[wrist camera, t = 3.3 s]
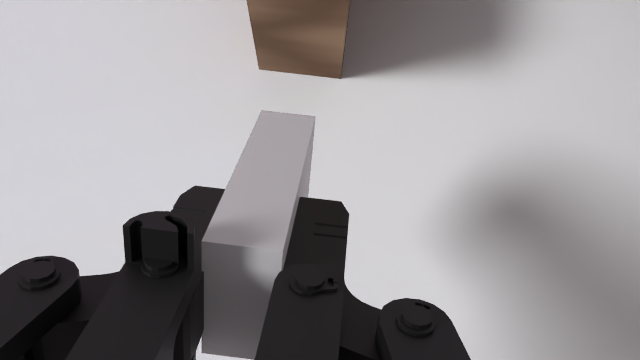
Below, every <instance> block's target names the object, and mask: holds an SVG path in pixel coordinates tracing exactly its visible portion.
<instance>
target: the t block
mask: <svg viewBox="0 0 640 360" xmlns="http://www.w3.org/2000/svg"><path fill="white" fill-rule="evenodd" d="M247 5H248V11H249V16H250V22H251V27H252V33H253V38H254V44H255V49H256V55H257V60H258V66H259V69H262V70H271V71H279V72H288V73H296V74H305V75H313V76H322V77H330V78H339V79H341V72H342V64H343V56H344V48H345V40H346V32H347V24H348V16H349V7H350V0H247Z"/></svg>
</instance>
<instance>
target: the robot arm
mask: <svg viewBox="0 0 640 360" xmlns="http://www.w3.org/2000/svg"><path fill="white" fill-rule="evenodd" d="M314 126H315V116H307V115H298V114H289V113H280V112H272V111H263V110H262V111H261V113H260V115H259V117H258V119H257V122H256V124H255V126H254V128H253V130H252V132H251V135H250V137H249V139H248V141H247V143H246V146H245V148H244V150H243V152H242V154H241V156H240V159H239V161H238V163H237V165H236V167H235V169H234V172H233V174H232V176H231V178H230V180H229V182H228V185H227V187H226V189H218V188H210V187H201V186H194V187H192V188H191V189H189V190H188V191H186V192H185V193H183V194H181V195H180V197H179V198H178V200H177V202H176V203H175V205H174V207H173V210H171V212H169V211H154V212H148V213H143V214H140V215H138V216H135V217H133V218H131V219H129V220H128V221H127V222H126V223H125V224H124V225H123V236H124V249H125V264H124V265H123V267H122V269H121V270H120V271H119V272H115V273H110V274H103V275H92V276H80V277H79V269H78V268H77V266H76V265H75V263H74V262H72V261H70V260H68V259H66V258H63V257H56V256H42V257H35V258H31V259H28V260H24V261H21V262H19V263H18V264H16V265H14V266H12V267H10V268H9V269H7V270H6V271H5V272H3V273H2V274H0V360H196V349H197V346H198V344H199V341H200V338H201V336H202V353H207V354H215V355H222V356H230V357H238V358H246V359H254V360H471V359H470V357H469V355H468V353H467V351H466V349H465V347H464V345H463V343H462V341H461V339H460V337H459V335H458V333H457V331H456V329H455V327H454V325H453V323H452V321H451V320H450V318H449V317H448V316H447V315H446V313H445V312H444V311H442V310H441V309H439V308H438V307H436V306H435V305H433V304H431V303H428V302H425V301H422V300H420V299H409V298H404V299H398V300H393V301H391V302H390V303H388V304H386V305H384V307H383V308H382V310H381V309H378V308H375V307H372V306H370V305H368V304H366V303H363V302H361V301H360V300H359V299H357V298H356V297H354V296H353V295H352V294H351V293H350V292H349V290H348V289H347V287H346V285H345V282H344V270H345V258H346V245H347V233H348V221H349V213H348V211H347V210H346V208H345V207H344V205H343V204H342V202H340V201H332V200H323V199H315V198H308V192H309V181H310V170H311V159H312V148H313V137H314Z"/></svg>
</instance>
